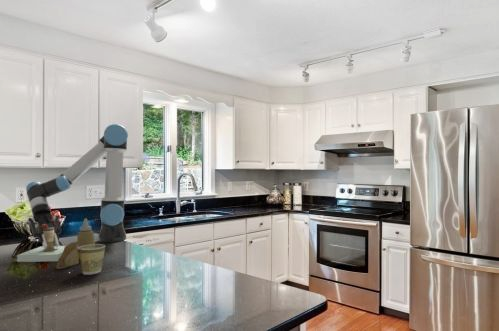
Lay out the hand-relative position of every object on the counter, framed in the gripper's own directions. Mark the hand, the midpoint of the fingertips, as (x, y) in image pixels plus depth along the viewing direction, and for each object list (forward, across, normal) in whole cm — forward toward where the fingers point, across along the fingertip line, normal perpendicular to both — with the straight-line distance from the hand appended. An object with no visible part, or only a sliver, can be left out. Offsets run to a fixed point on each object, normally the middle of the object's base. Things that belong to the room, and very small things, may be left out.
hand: (51, 246), depth 167 cm
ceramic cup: (+30, -4, +22) cm, 38 cm away
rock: (+18, 0, +10) cm, 21 cm away
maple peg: (0, 0, -5) cm, 5 cm away
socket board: (+1, 0, -6) cm, 6 cm away
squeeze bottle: (+13, -11, +5) cm, 17 cm away
